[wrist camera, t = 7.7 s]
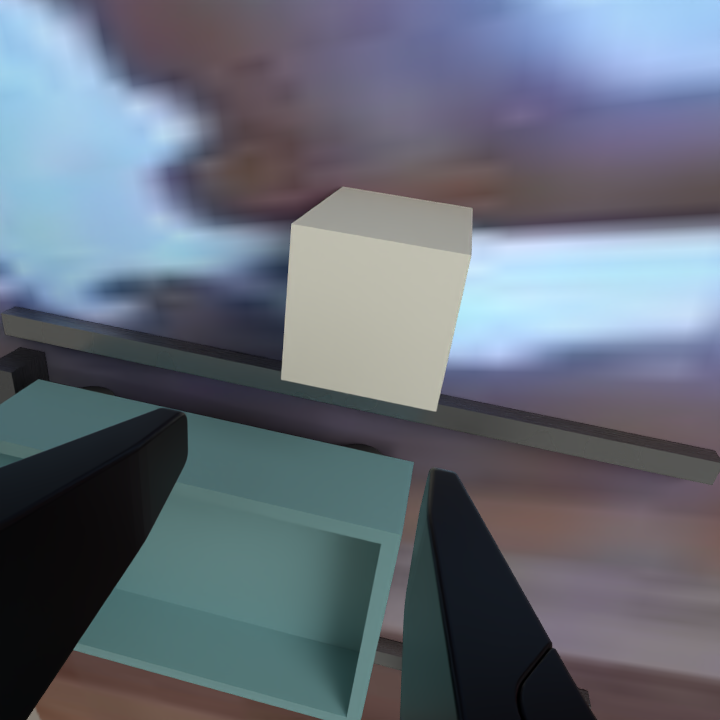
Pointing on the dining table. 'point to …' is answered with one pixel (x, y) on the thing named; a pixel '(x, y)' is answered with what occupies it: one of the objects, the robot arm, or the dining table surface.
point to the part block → (375, 295)
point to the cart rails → (345, 404)
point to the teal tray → (243, 555)
